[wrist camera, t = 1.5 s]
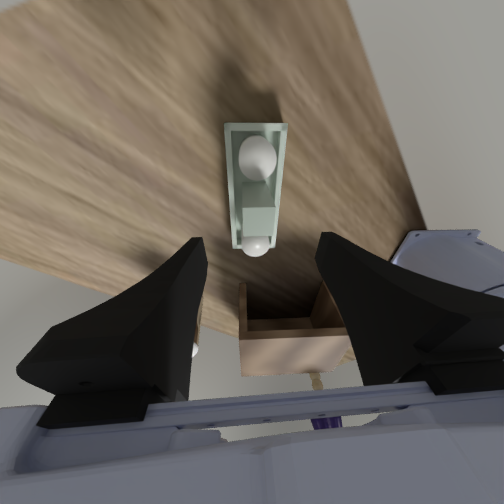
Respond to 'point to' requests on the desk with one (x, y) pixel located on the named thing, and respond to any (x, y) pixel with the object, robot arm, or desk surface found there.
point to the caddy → (254, 183)
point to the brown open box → (292, 339)
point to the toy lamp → (328, 421)
